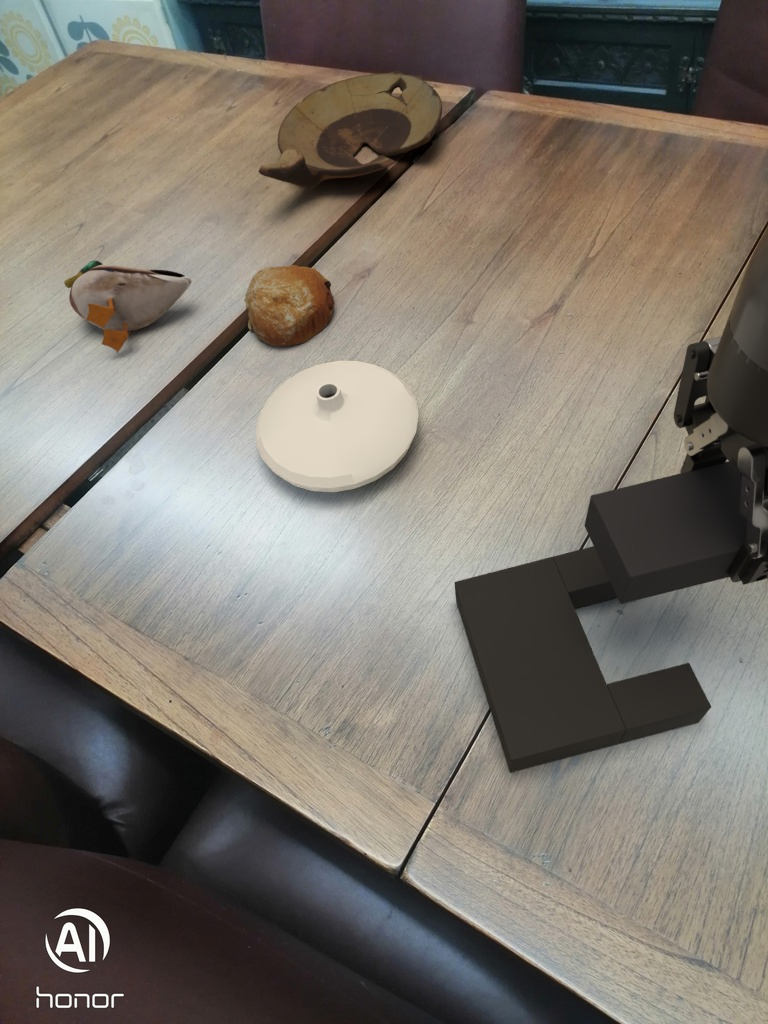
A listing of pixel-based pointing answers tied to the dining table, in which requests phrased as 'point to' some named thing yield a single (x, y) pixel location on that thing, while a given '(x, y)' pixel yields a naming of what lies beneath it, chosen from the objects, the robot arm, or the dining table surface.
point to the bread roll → (288, 304)
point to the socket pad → (561, 664)
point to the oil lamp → (354, 127)
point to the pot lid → (337, 426)
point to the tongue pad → (668, 531)
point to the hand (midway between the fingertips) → (718, 529)
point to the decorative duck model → (123, 297)
